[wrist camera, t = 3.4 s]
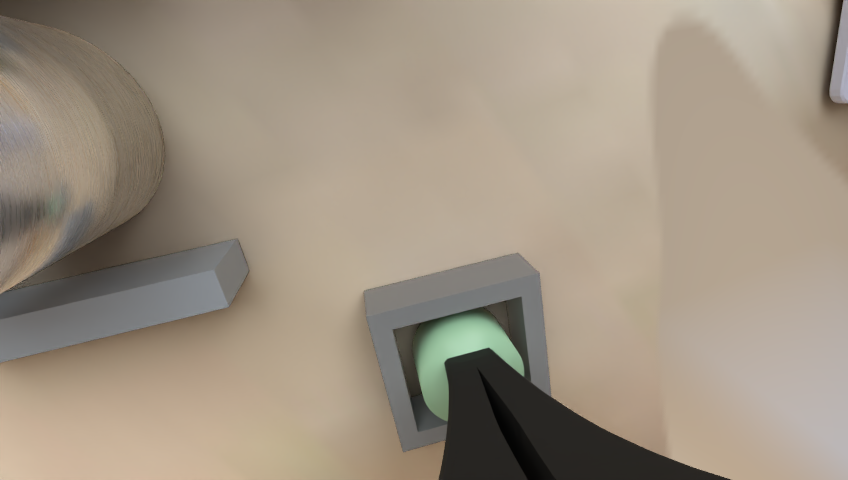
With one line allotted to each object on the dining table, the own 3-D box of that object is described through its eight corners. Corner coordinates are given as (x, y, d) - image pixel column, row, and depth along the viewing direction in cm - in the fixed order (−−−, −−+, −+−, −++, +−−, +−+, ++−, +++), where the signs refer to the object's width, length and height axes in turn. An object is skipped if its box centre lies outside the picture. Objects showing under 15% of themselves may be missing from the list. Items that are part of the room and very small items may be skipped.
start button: (495, 292, 13) (518, 323, 11) (506, 369, 14) (528, 408, 12) (403, 316, 13) (412, 351, 11) (421, 392, 14) (432, 435, 12)
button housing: (517, 252, 13) (539, 272, 12) (532, 378, 15) (552, 409, 14) (364, 290, 13) (366, 316, 11) (397, 415, 15) (403, 452, 13)
